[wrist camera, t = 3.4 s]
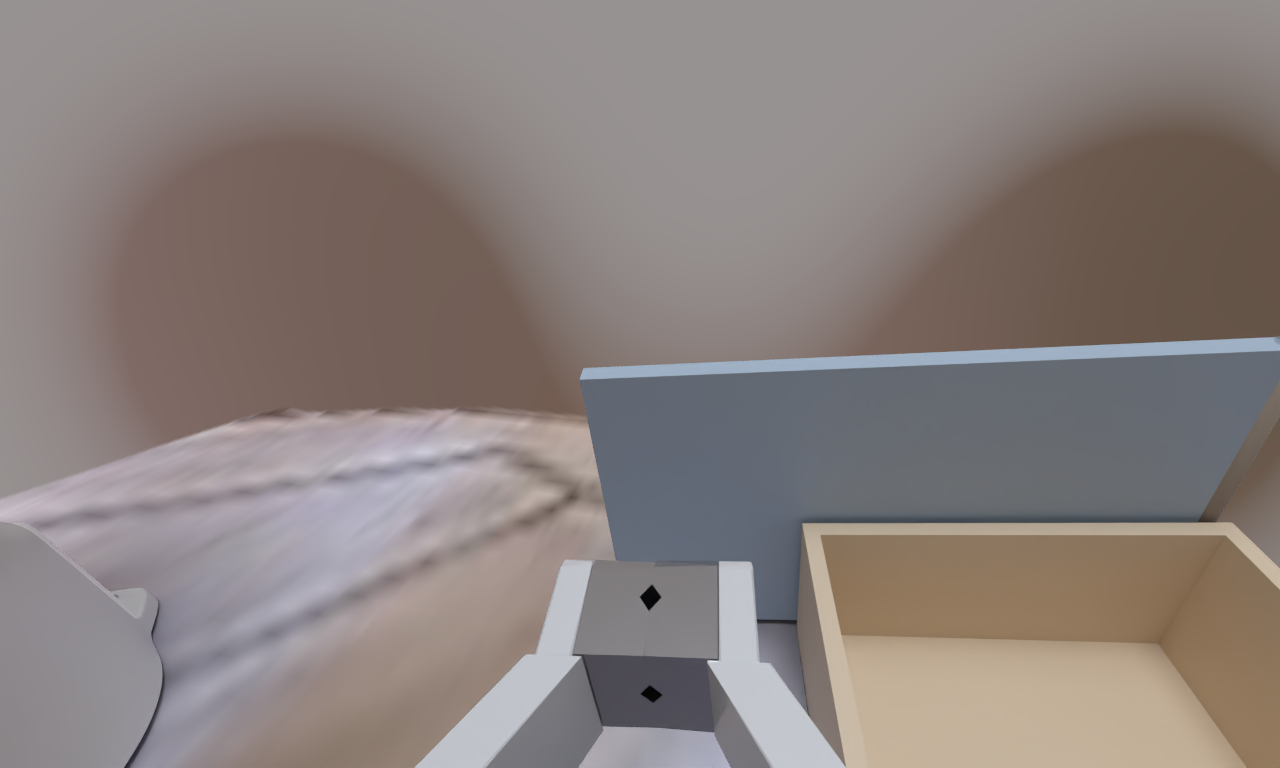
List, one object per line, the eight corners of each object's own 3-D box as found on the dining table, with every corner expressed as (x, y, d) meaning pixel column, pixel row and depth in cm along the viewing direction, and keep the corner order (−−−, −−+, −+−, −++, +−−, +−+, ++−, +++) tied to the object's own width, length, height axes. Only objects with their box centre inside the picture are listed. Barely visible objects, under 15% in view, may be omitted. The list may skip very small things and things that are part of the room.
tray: (848, 1006, 16) (874, 925, 13) (796, 630, 26) (802, 523, 23) (1480, 1084, 14) (1739, 1013, 10) (1159, 639, 24) (1231, 522, 20)
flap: (627, 617, 27) (579, 381, 20) (629, 600, 28) (584, 366, 21) (1158, 630, 24) (1330, 350, 17) (1143, 610, 25) (1302, 334, 18)
